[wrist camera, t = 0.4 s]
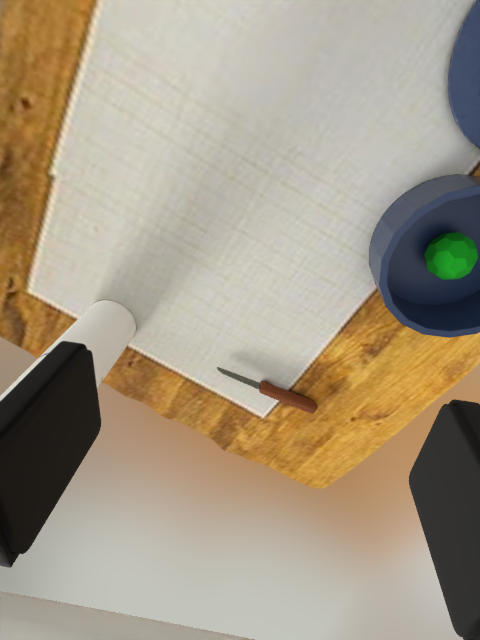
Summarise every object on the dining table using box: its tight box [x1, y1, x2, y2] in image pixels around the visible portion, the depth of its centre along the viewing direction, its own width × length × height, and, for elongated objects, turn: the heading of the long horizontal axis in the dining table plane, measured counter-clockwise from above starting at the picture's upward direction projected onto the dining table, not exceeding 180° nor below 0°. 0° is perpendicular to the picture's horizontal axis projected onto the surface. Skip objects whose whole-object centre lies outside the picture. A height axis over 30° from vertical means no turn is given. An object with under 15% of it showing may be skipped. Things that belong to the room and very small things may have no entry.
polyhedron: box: [424, 232, 478, 280], centre depth 40 cm, size 5×5×5 cm
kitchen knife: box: [217, 367, 317, 413], centre depth 54 cm, size 16×1×2 cm, turn 67°
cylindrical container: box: [0, 300, 136, 401], centre depth 42 cm, size 7×7×25 cm
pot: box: [369, 174, 480, 338], centre depth 39 cm, size 16×16×6 cm
